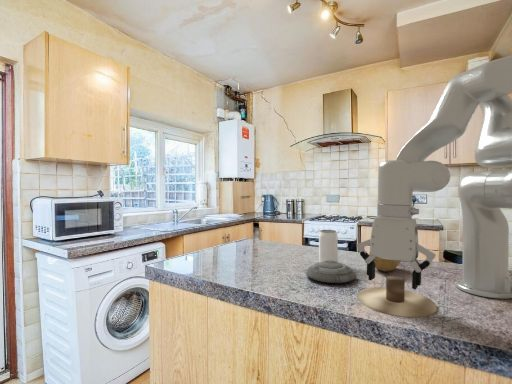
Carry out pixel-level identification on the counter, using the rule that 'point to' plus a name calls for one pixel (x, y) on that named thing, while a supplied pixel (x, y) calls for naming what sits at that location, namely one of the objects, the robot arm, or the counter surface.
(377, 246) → the robot arm
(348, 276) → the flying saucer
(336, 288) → the counter surface
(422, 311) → the lid
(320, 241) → the can
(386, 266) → the potato
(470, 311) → the counter surface
